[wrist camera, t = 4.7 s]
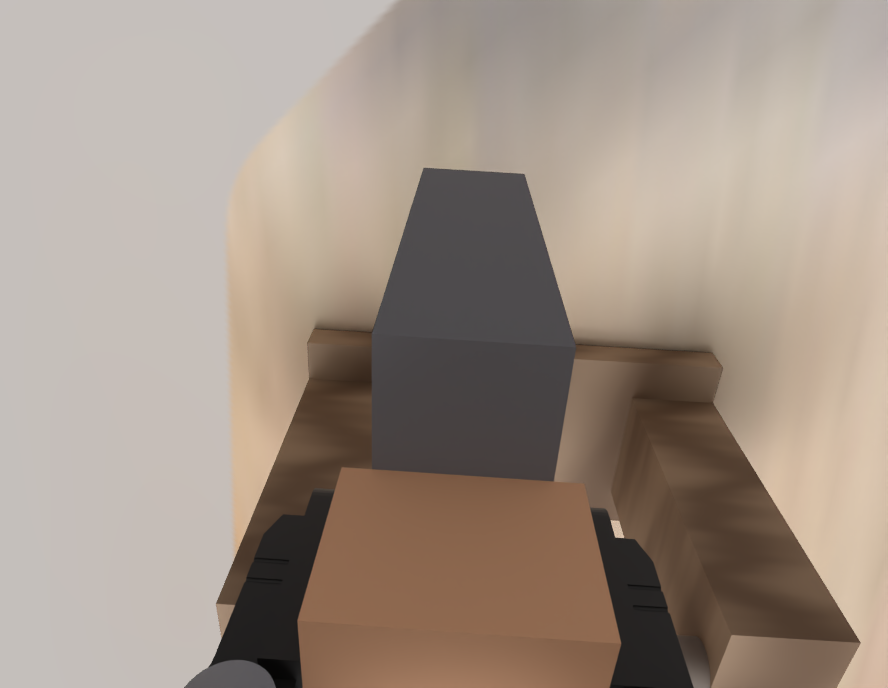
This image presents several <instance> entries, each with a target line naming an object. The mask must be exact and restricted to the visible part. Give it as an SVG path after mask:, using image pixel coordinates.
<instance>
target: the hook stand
mask: <svg viewBox="0 0 888 688" xmlns="http://www.w3.org/2000/svg"><path fill="white" fill-rule="evenodd" d="M307 346H308V364H309V381H308V383H307V385H306V388H305V390H304V393H303V395H302V397H301V400H300V402H299V405H298V407H297V410H296V412H295V414H294V417H293V419H292V422H291V424H290V426H289V429H288V431H287V434H286V436H285V438H284V441H283V443H282V446H281V448H280V451H279V453H278V455H277V458H276V460H275V463H274V465H273V467H272V470H271V472H270V475H269V477H268V480H267V482H266V484H265V487H264V489H263V492H262V494H261V496H260V499H259V501H258V504H257V506H256V508H255V511H254V513H253V516H252V518H251V521H250V523H249V525H248V528H247V530H246V533H245V535H244V537H243V540H242V542H241V545H240V547H239V550H238V552H237V554H236V557H235V559H234V562H233V564H232V566H231V569H230V571H229V574H228V576H227V578H226V581H225V583H224V586H223V588H222V591H221V593H220V596H219V598H218V600H217V603H216V607H217V613H218V619H219V624H220V631H221V637H223V634H224V632H225V629H226V627H227V624H228V622H229V619H230V617H231V614H232V612H233V609H234V607H235V604H236V602H237V599H238V597H239V594H240V592H241V589H242V587H243V584H244V582H246V577H247V574H248V572H249V569H250V567H251V564H252V562H254V557H255V554H256V552H257V549H258V547H259V544H260V542H261V539H262V537H263V534H264V533H265V532H266V531H267V530H268V529H269V528H270V527H271V526H272V525H273V524H274V523H275V522H276V521H277V520H278V519H279V518H280V517H281V516H282V515H283V514H287V515H301V516H304V515H305V512H306V509H307V506H308V503H309V500H310V497H311V494H312V492H313V490H314V488H323V489H335V488H336V485H337V481H338V478H339V475H340V471H341V468H342V467H347V468H361V469H372V333H371V332H355V331H338V330H321V329H314V330H313V332H312V334H311V336H310V338H309V341H308V343H307ZM722 370H723V367H722V366H721V364H720V363H719V362H718V360H717V359H716V357H715V356H714V354H713V353H705V352H688V351H671V350H655V349H638V348H621V347H605V346H588V345H576V352H575V358H574V364H573V370H572V376H571V382H570V388H569V394H568V400H567V406H566V412H565V418H564V424H563V430H562V436H561V442H560V448H559V454H558V460H557V466H556V472H555V478H554V482H569V483H583V484H585V489H586V493H587V497H588V502H589V506H590V507H593V508H605V509H606V510H607V511H608V514H609V517H610V520H617V521H620V524H621V528H622V531H623V534H624V538H626V539H635V540H636V541H637V542H638V544H639V545H640V546H641V547H642V549H643V550H644V551H645V552H646V553H647V555H648V556H649V557H650V558H651V560H652V561H653V563H654V566H655V569H656V572H657V575H658V578H659V581H660V584H661V592H663V594H664V597H665V600H666V603H667V606H668V613H670V615H671V619H672V622H673V625H674V628H675V631H676V634H677V637H678V640H679V643H680V647H681V650H682V653H683V656H684V659H685V662H686V665H687V668H688V671H689V675H690V678H691V681H692V684H693V687H694V688H837V686H838V684H839V682H840V680H841V679H842V677H843V675H844V673H845V671H846V669H847V667H848V666H849V664H850V662H851V660H852V658H853V656H854V654H855V653H856V651H857V649H858V647H859V645H860V641H859V639H858V638H857V636H856V635H855V633H854V631H853V630H852V628H851V626H850V625H849V623H848V622H847V620H846V618H845V617H844V615H843V613H842V612H841V610H840V609H839V607H838V605H837V604H836V602H835V600H834V599H833V597H832V596H831V594H830V592H829V591H828V589H827V587H826V586H825V584H824V583H823V581H822V579H821V578H820V576H819V575H818V573H817V571H816V570H815V568H814V566H813V565H812V563H811V562H810V560H809V558H808V557H807V555H806V553H805V552H804V550H803V549H802V547H801V545H800V544H799V542H798V540H797V539H796V537H795V536H794V534H793V532H792V531H791V529H790V527H789V526H788V524H787V523H786V521H785V519H784V518H783V516H782V514H781V513H780V511H779V510H778V508H777V506H776V505H775V503H774V502H773V500H772V498H771V497H770V495H769V493H768V492H767V490H766V489H765V487H764V485H763V484H762V482H761V480H760V479H759V477H758V476H757V474H756V472H755V471H754V469H753V467H752V466H751V464H750V463H749V461H748V459H747V458H746V456H745V454H744V453H743V451H742V450H741V448H740V446H739V445H738V443H737V442H736V440H735V438H734V437H733V435H732V433H731V432H730V430H729V429H728V427H727V425H726V424H725V422H724V420H723V419H722V417H721V416H720V414H719V412H718V411H717V409H716V407H715V406H714V404H713V400H714V397H715V394H716V390H717V387H718V383H719V380H720V377H721V373H722Z"/></svg>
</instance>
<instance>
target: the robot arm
mask: <svg viewBox="0 0 888 688" xmlns="http://www.w3.org/2000/svg"><path fill="white" fill-rule="evenodd" d="M334 492H335V489H323V488H314V490H313V492H312V494H311V497H310V500H309V503H308V506H307V509H306V512H305V515H304V516H301V515H287V514H283V515H282V516H281V517H280V518H279V519H278V520H277V521H276V522H275V523H274V524H273V525H272V526H271V527H270V528H269V529H268V530H267V531H266V532H265V533H264V534H263V537H262V539H261V542H260V544H259V547H258V549H257V552H256V554H255V557H254V562H252V564H251V567H250V569H249V572H248V574H247V577H246V582H244V584H243V587H242V589H241V592H240V594H239V597H238V599H237V602H236V604H235V607H234V609H233V612H232V614H231V617H230V619H229V622H228V624H227V627H226V629H225V632H224V634H223V637H222V639H221V642H220V644H219V647H218V649H217V652H216V654H215V657H214V658H213V661H212V663H211V664H210V666H209V667H208V668H207V669H205V670H203V671H202V672H200V673H199V674H198V675H196V676H195V677H194V678H193V679H192V680H191V681H190V682H189V683H188V684H187V685H186V686H185V687H184V688H303V685H302V672H301V660H300V647H299V635H298V623H297V620H298V617H299V613H300V610H301V606H302V603H303V600H304V596H305V593H306V589H307V586H308V582H309V579H310V575H311V572H312V568H313V565H314V561H315V558H316V554H317V551H318V547H319V544H320V540H321V537H322V534H323V530H324V527H325V523H326V520H327V516H328V513H329V509H330V506H331V502H332V499H333V495H334ZM590 510H591V515H592V519H593V523H594V528H595V532H596V536H597V541H598V545H599V549H600V554H601V558H602V562H603V567H604V571H605V575H606V580H607V584H608V588H609V593H610V597H611V601H612V606H613V610H614V614H615V619H616V623H617V627H618V632H619V636H620V640H621V647H620V650H619V654H618V658H617V662H616V665H615V669H614V673H613V676H612V680H611V684H610V687H609V688H694V687H693V684H692V681H691V678H690V675H689V671H688V668H687V665H686V662H685V659H684V656H683V653H682V650H681V647H680V643H679V640H678V637H677V634H676V631H675V628H674V625H673V622H672V619H671V615H670V613H668V606H667V603H666V600H665V597H664V594H663V592H661V584H660V581H659V578H658V575H657V572H656V569H655V566H654V563H653V561H652V560H651V558H650V557H649V556H648V555H647V553H646V552H645V551H644V550H643V549H642V547H641V546H640V545H639V544H638V542H637V541H636V540H635V539H626V538H615V536H614V532H613V528H612V525H611V521H610V517H609V514H608V511H607V510H606V509H605V508H593V507H590Z"/></svg>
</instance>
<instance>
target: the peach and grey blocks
mask: <svg viewBox="0 0 888 688" xmlns="http://www.w3.org/2000/svg"><path fill="white" fill-rule="evenodd" d="M575 352H576V345H575V342H574V338H573V335H572V332H571V328H570V325H569V322H568V318H567V315H566V312H565V308H564V305H563V302H562V298H561V295H560V291H559V288H558V285H557V281H556V278H555V275H554V271H553V268H552V265H551V261H550V258H549V255H548V251H547V248H546V245H545V241H544V238H543V235H542V231H541V228H540V225H539V221H538V218H537V215H536V211H535V208H534V205H533V201H532V198H531V195H530V191H529V188H528V185H527V181H526V178H525V175H524V174H515V173H499V172H482V171H466V170H450V169H434V168H424V169H423V172H422V175H421V178H420V181H419V185H418V188H417V191H416V194H415V197H414V201H413V204H412V207H411V210H410V213H409V217H408V220H407V223H406V226H405V229H404V233H403V236H402V239H401V242H400V245H399V248H398V252H397V255H396V258H395V261H394V264H393V268H392V271H391V274H390V277H389V280H388V284H387V287H386V290H385V293H384V296H383V300H382V303H381V306H380V309H379V312H378V316H377V319H376V322H375V325H374V328H373V331H372V469H361V468H347V467H342V468H341V471H340V475H339V478H338V481H337V485H336V488H335V492H334V495H333V499H332V502H331V506H330V509H329V513H328V516H327V520H326V523H325V527H324V530H323V534H322V537H321V540H320V544H319V547H318V551H317V554H316V558H315V561H314V565H313V568H312V572H311V575H310V579H309V582H308V586H307V589H306V593H305V596H304V600H303V603H302V606H301V610H300V613H299V617H298V620H297V623H298V635H299V647H300V660H301V672H302V685H303V688H609V687H610V684H611V680H612V676H613V673H614V669H615V665H616V662H617V658H618V654H619V650H620V647H621V640H620V636H619V632H618V627H617V623H616V619H615V614H614V610H613V606H612V601H611V597H610V593H609V588H608V584H607V580H606V575H605V571H604V567H603V562H602V558H601V554H600V549H599V545H598V541H597V536H596V532H595V528H594V523H593V519H592V515H591V510H590V506H589V502H588V497H587V493H586V489H585V484H583V483H569V482H554V478H555V472H556V466H557V460H558V454H559V448H560V442H561V436H562V430H563V424H564V418H565V412H566V406H567V400H568V394H569V388H570V382H571V376H572V370H573V364H574V358H575Z"/></svg>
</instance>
